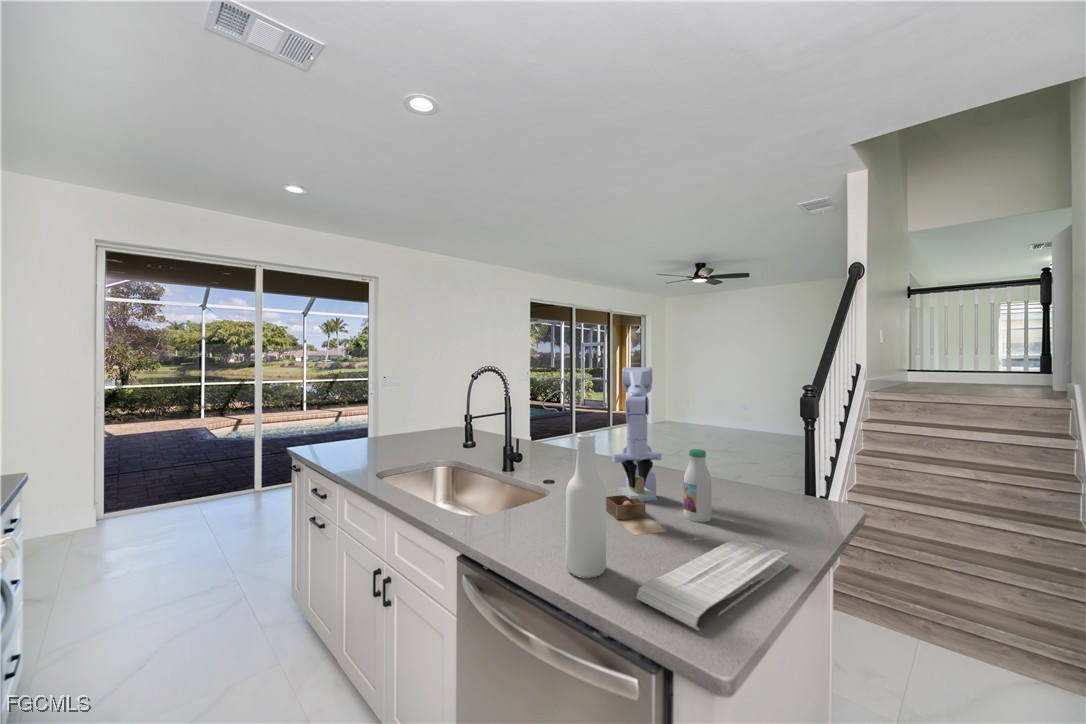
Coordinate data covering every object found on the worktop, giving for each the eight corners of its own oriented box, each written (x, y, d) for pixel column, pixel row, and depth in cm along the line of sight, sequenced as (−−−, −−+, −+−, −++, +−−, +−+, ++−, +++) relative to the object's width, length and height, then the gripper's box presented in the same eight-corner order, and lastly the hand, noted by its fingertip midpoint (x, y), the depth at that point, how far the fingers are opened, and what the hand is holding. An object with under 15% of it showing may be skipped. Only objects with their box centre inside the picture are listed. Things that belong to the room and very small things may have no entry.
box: (631, 508, 139) (631, 494, 139) (645, 517, 130) (645, 503, 130) (604, 510, 136) (604, 496, 136) (617, 520, 128) (617, 505, 127)
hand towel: (791, 549, 100) (694, 615, 75) (791, 566, 100) (694, 638, 75) (737, 533, 110) (635, 586, 84) (738, 548, 110) (635, 606, 84)
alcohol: (580, 557, 104) (580, 429, 104) (613, 568, 98) (613, 433, 98) (558, 571, 97) (558, 434, 97) (591, 583, 92) (591, 439, 91)
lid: (642, 488, 130) (642, 472, 130) (655, 496, 123) (655, 479, 123) (618, 490, 128) (618, 474, 128) (630, 499, 121) (630, 481, 121)
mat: (649, 519, 129) (649, 518, 129) (667, 532, 119) (667, 531, 119) (617, 522, 126) (617, 521, 126) (634, 536, 116) (634, 535, 116)
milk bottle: (707, 514, 133) (707, 448, 133) (714, 523, 125) (714, 453, 125) (681, 513, 134) (681, 447, 134) (686, 522, 126) (686, 452, 126)
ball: (629, 508, 137) (629, 499, 137) (634, 511, 134) (634, 502, 134) (620, 509, 136) (620, 499, 136) (625, 512, 133) (625, 502, 133)
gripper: (619, 442, 120) (619, 492, 120) (667, 439, 123) (667, 488, 123) (608, 437, 126) (608, 485, 126) (654, 435, 130) (654, 481, 130)
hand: (636, 486), depth 125 cm, fingers closed on lid, 2 cm apart
